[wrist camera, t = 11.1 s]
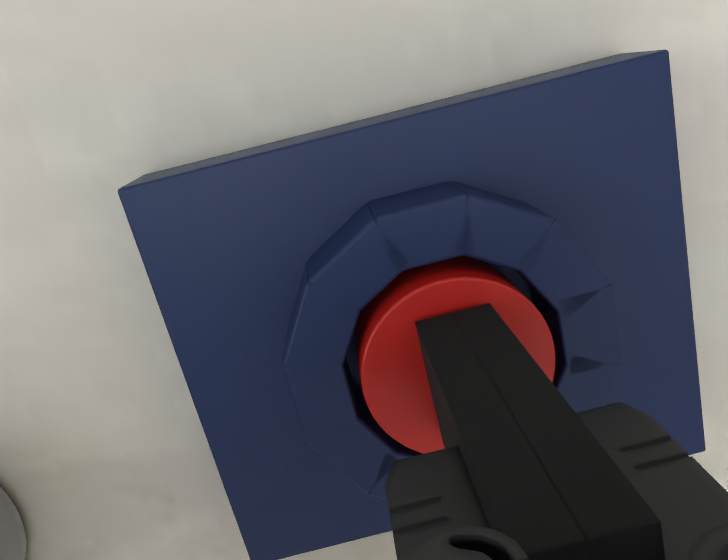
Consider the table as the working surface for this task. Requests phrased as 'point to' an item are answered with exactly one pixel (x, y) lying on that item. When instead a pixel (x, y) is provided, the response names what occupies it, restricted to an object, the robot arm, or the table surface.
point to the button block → (410, 250)
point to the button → (402, 347)
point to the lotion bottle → (11, 530)
